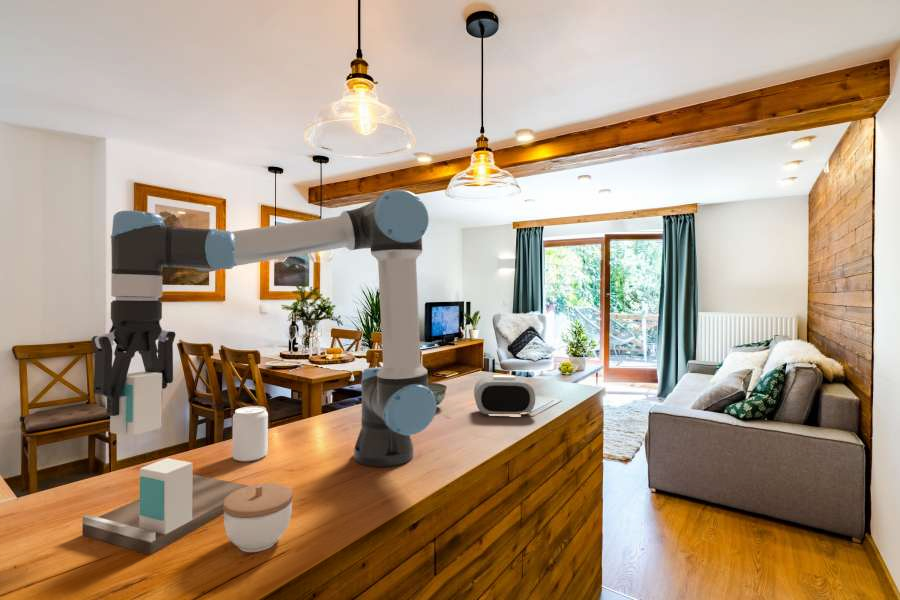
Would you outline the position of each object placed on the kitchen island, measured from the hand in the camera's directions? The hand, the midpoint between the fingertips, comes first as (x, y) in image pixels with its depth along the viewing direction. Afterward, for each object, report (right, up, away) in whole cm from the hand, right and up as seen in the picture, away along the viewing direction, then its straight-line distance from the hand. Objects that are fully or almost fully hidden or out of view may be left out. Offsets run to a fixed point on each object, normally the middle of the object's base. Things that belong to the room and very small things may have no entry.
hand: (135, 428), depth 80 cm
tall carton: (0, 0, 0) cm, 0 cm away
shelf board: (+5, -17, +3) cm, 18 cm away
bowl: (+48, -17, +85) cm, 99 cm away
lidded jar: (+24, -18, -5) cm, 31 cm away
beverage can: (+6, -17, +33) cm, 37 cm away
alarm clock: (+75, -18, +77) cm, 110 cm away
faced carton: (+8, -15, -4) cm, 18 cm away
